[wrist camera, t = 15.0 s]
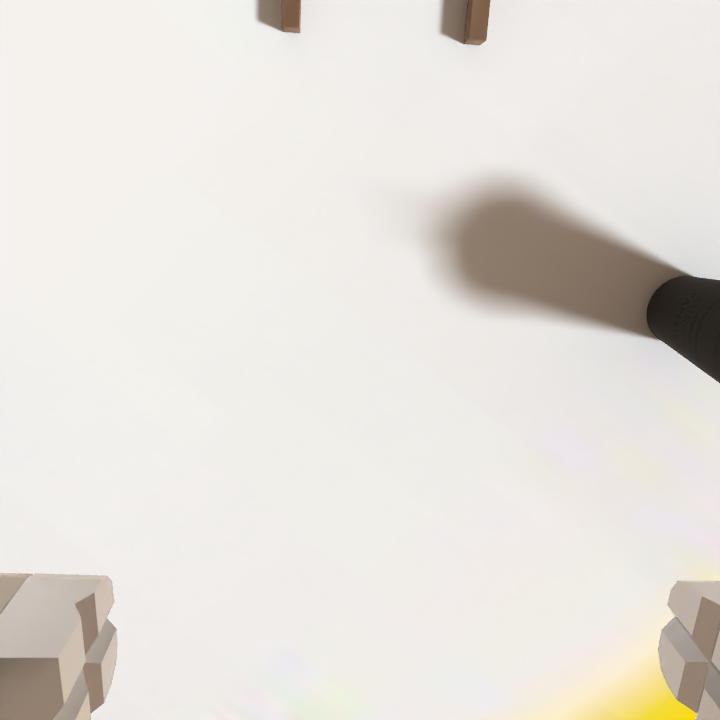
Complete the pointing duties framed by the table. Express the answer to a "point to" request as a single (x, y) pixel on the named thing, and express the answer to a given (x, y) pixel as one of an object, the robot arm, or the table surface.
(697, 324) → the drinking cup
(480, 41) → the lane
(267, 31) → the table surface
